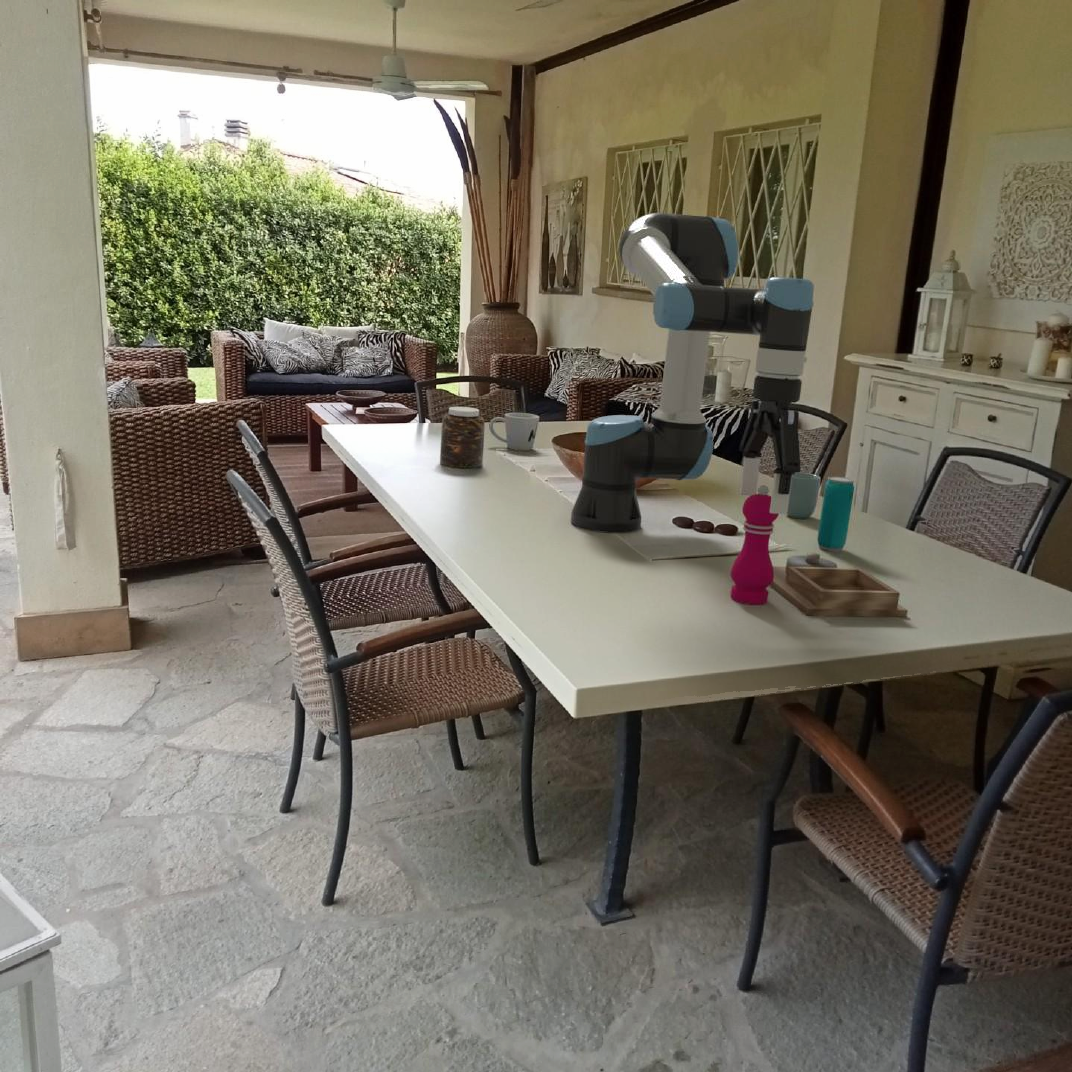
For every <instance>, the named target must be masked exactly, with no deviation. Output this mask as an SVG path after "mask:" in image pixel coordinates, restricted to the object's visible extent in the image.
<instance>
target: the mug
mask: <svg viewBox="0 0 1072 1072" xmlns="http://www.w3.org/2000/svg"><path fill="white" fill-rule="evenodd" d="M539 421H540V416H539V415H536V414H533V413H528V412H527V413H526V412H508V413H505V414H504V417H501V416H496V417H493V418H492V419H491V420H490V422H489V423H488V427H489V431H490V433H491V434H492V436H493V437H494V438H495V439H497V440H498V441H500V442H503V443H505V444H506V446H507V448H508V449H510V450H513V449H517V450H516V451H523V450H524V451H530V450H529V449H531V450H533V449H534V443H535V439H536V435H537V430H538V428H539V427H538V425H539ZM496 422H502V423H504V424H505V435H506V436H505V437H506V438H504V437H502V436H500V435H499V434H498V433H497V432H496V431H495V429H494V424H495V423H496Z"/></svg>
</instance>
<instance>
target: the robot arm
mask: <svg viewBox="0 0 1072 1072" xmlns="http://www.w3.org/2000/svg"><path fill="white" fill-rule="evenodd" d="M738 242H739V241H738V237H737V233H736V231H735V228H734V226H733V225H732V223H731V222H730V220H729V221H728V220H727V219H724V218H720V217H718V218H717V217H713V216H710V215H709V216H700V215H691V214H690V215H689V214H678V213H677V214H676V213H667V212H653V213H648V214H645V215H643V216H639V218H637V219H635V220H634V221H632V222H631V223H630V224H629V225H628V226H627V227H626V228H625V230H624V231H623V233H622V235H621V237H620V239H619V243H618V253H619V254H618V255H619V258H620V260H621V262H622V265H623V266H624V267H625V268H626V270H627V271H628V272H629V273H631V275H633V276H635V277H638V278H640V280H641V281H642V282H643V284H644V285H645V286H646V288H647V289H648V290H649V292H650V293H651V294H652V295H653V297H654V298H653V303H652V304H653V305H652V308H653V309H652V312H653V314H652V315H653V317H654V319H653V320H654V322H655V324H656V326H657V327H659V328H661V329H667V331H668V332H667V341H666V342H667V343H666V349H665V357H664V367H663V377H662V382H661V383H662V385H661V391H660V392H661V393H660V394H661V395H660V401H659V407H658V408H657V409H656V410H655V411H653V412H652V413H651V419H650V423H644V419H643V418H642V417H641V416H638V415H629V414H627V415H625V414H617V415H607V416H606V415H605V416H601V417H597V418H594V419H592V420H591V421H590V422H589V423H588V424H587V428H586V434H585V439H584V445H585V446H584V459H583V469H582V481H581V489H580V490H579V493H578V495H577V497H576V499H575V503H574V505H573V508H571V509H572V510H571V513H570V515H571V517H570V523H571V524H573V525H574V526H577V527H579V528H581V529H584V530H590V531H595V532H601V533H616V534H617V533H619V534H620V533H631V532H636V531H638V530H640V529H641V527H642V526H641V525H642V515H641V509H640V505H639V499H638V496H637V495H638V494H637V483H638V479H661V480H663V479H664V480H676V481H682V480H695V479H698V478H700V477H701V476H702V475H703V473H705V472H706V470H707V469H708V467H709V466H710V465H709V464H710V462H711V459H712V456H713V450H714V441H713V439H714V434H713V431H712V429H711V428H710V427H709V426H707V425H706V424H707V419H706V417H705V416H704V415H703V414H702V411H701V408H702V407H701V406H702V399H703V391H704V383H705V377H706V375H705V374H706V368H707V359H708V353H709V352H708V351H709V345H710V343H709V342H710V336H711V333H723V334H724V333H725V334H737V335H738V334H739V335H755V336H759V341H758V346H757V352H756V353H757V355H756V362H755V372H756V373H758V375H756V376H755V377H754V381H753V390H752V397H753V398H754V399H756V400H752V401H751V409H750V413H749V416H748V420H747V423H746V427H745V429H744V432H743V435H742V437H741V440H740V445H739V448H738V449H739V451H740V452H742V456H743V463H742V470H741V471H742V472H741V477H740V478H741V479H740V487H739V488H740V489H739V495H740V496H749V497H750V496H751V495H754V494H757V491H758V489H757V488H758V482H759V481H758V480H759V471H760V465H761V458H763V456H762V450H763V448H764V445H765V444H766V442H767V440H768V438H770V439H771V440H772V446H773V451H774V452H773V453H774V457H775V464H776V468H775V469H774V470H773V474H774V475H773V482H772V483H773V484H772V490H771V504H770V513H777V514H783V515H788V514H787V511H788V504H789V496H790V489H791V481H792V474H794V473H795V472H801V454H800V442H799V440H800V439H799V427H798V426H799V415H800V414H799V411H798V410H790V409H791V408H790V407H791V405H790V404H791V403H797V402H800V398H801V393H802V384H803V381H802V380H801V379H800V378H799V377H800V376H802V375H803V374H804V366H805V363H806V362H807V359H808V358H807V356H806V352H807V351H806V350H807V344H808V337H809V334H810V333H809V331H810V325H811V318H812V312H813V307H814V292H815V291H814V290H815V289H814V288H815V285H814V283H813V281H812V280H810V279H806V278H796V277H781V276H777V277H775V276H772V277H770V278H769V279H768V280H767V281H766V286H765V289H764V288H748V287H745V288H744V287H732V286H731V287H729V286H724V285H725V280H728V279H730V278H732V277H733V276H734V275H735V272H736V268H737V266H738V262H739V243H738Z"/></svg>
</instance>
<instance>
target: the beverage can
mask: <svg viewBox="0 0 1072 1072" xmlns="http://www.w3.org/2000/svg"><path fill="white" fill-rule="evenodd" d="M854 482H855V480H854V479H853V478H849V477H845V476H835V475H834V476H828V477H827V481H826V483H825V485H824V486H825V487H824V492H823V499H822V504H821V505H822V506H821V511H820V520H819V524H818V525H819V526H818V532H817V539H816V540H817V544H818V547H819V549H821V550H823V551H826V552H827V551H828V552H831V553H832V552H835V553H837V552H841V551H842V550H843V549H844V547H845V545H846V543H847V538H848V536H847V535H848V530H849V526H850V525H849V523H850V517H851V512H852V506H853V498H854V492H855V484H854Z"/></svg>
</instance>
